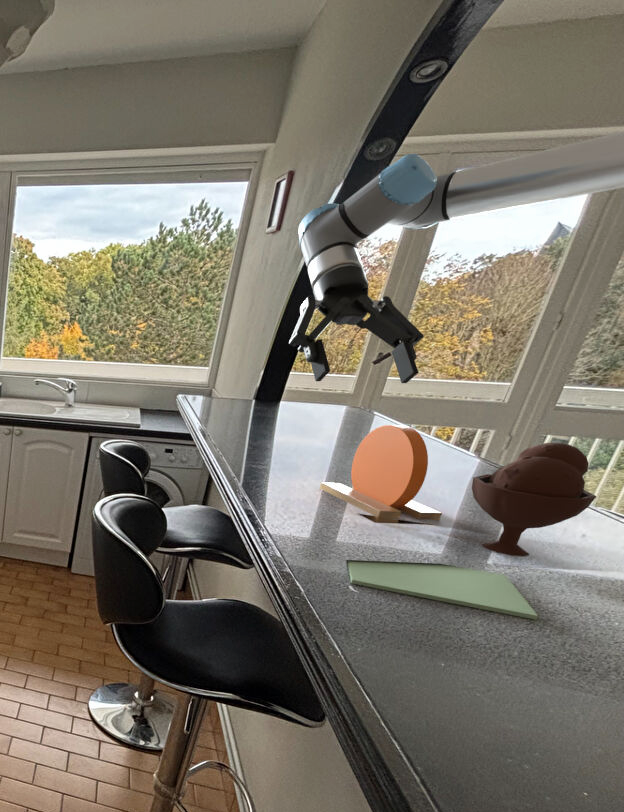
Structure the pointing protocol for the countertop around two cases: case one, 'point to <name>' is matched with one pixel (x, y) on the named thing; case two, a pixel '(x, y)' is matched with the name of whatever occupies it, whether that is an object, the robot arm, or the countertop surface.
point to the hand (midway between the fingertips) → (366, 377)
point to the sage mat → (443, 584)
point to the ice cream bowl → (533, 492)
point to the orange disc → (390, 465)
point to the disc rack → (380, 506)
